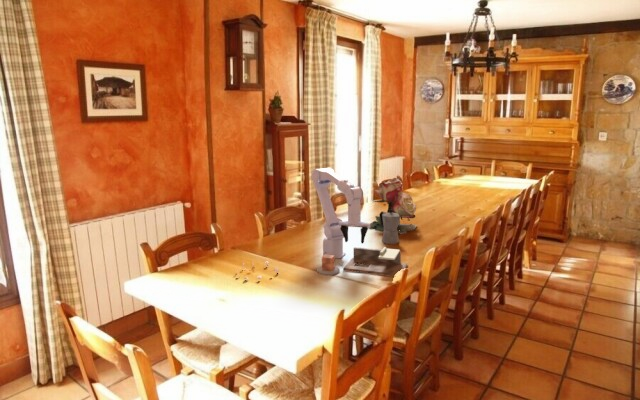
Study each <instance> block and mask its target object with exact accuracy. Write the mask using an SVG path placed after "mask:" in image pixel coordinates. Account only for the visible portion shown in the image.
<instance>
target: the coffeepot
mask: <svg viewBox="0 0 640 400" xmlns="http://www.w3.org/2000/svg"><path fill="white" fill-rule="evenodd" d="M389 211H390V213H387V212H386V211H380V213H379V216H380V220H381V224H382V226H383V227H384V231H383V233H382V236H381V242H382V243H383V244H385V245H396V244H399V242H400V239H399V233H398V231H397V227H398V223H399V219H400V220H401V218H400V215H399V214H397V213H392V209H390V210H389Z"/></svg>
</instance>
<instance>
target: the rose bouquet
mask: <svg viewBox="0 0 640 400" xmlns="http://www.w3.org/2000/svg"><path fill="white" fill-rule="evenodd" d="M402 186H403V182H402V181H401V180H400V179H399V178H398V177H393V178H392V179H389V180H387V181H384V180H383V182H381V183H379V187H380V188H378V189H374V191H375V192H376V193H377V196H378V198H380V200H373V201H372V203H384V204H383V206H386V204H385V203H387V204H388V205H387V213H390V211H389V210H390V209H392V213H397V214H399V215H400V219H399V223H398V227H397V231H398V235H403V234H407V232H408V231H409V232H410V231H413V230H415V229H416V228H417V226H418V225H417V224H413V223H409V224H406V223H405V224H404V223H401V221H402V222H404V219H407V221H411V219H415V218H416V214H415V213H416V209H417V208H416V207H417V203H416V204H415V203H414V201H413V197H412V196H411V194H409V193H405V192H403V188H402ZM374 218H375V220H374V221H372V222H371V223H370V222H369V223H370V228H368V230H372V231H373V230H374V231H377V232H384V227H383V226H382V224H381V220H380V215H379V216H378V215H375V216H374ZM399 230H400V231H399Z"/></svg>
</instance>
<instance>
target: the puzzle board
mask: <svg viewBox="0 0 640 400" xmlns="http://www.w3.org/2000/svg"><path fill="white" fill-rule="evenodd" d="M381 250H382V249H377V248H375V249H374V248H365V247H353V257H352V258H351V259H350V260H349V261H348V262H347V263H346V264H345V265H344V267H342V268H343V272H344V271H346V272H353V273H361V274H371V275H378V276H379V275H381V276H388V277H390V276H391V277H395V276H394V275H395V274H396V273H397V272H398V271H400V270H401V269H404V268H406V269H407V267H408V262H401V261H402V260H401V259H402V257H401V256H402V252H401V251H400V252H399V254H398V255H397V257H396V258H395V260H387V259H378V257H379V255H380V251H381ZM357 265H364V266H357ZM365 266H367V267H365Z"/></svg>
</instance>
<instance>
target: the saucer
mask: <svg viewBox="0 0 640 400" xmlns="http://www.w3.org/2000/svg"><path fill="white" fill-rule="evenodd" d="M316 270H317V271H316V272H317V273H318V274H319V273H320V274H319V275H322V274H323V276H334V275H337V274H339V273H340V272H341V269H340V267H338V266H337V265H335V268H334V269H333V270H332V271H324V270H322V265H321V266H318V268H317V269H316Z"/></svg>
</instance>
